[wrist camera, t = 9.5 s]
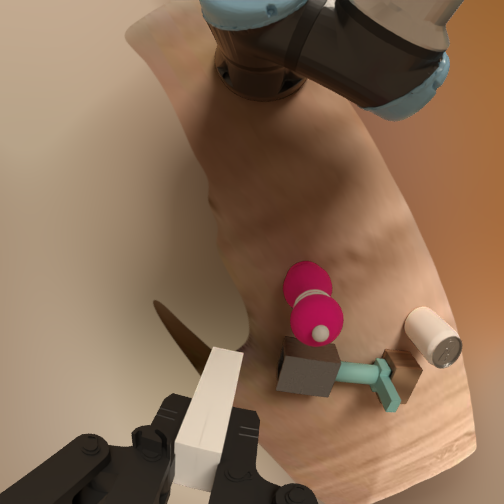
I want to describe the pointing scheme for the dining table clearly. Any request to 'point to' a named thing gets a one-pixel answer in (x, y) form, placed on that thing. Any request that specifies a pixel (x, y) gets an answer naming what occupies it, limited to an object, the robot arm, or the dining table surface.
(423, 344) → the can
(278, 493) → the robot arm
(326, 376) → the gray block
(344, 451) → the dining table surface
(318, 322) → the pepper mill
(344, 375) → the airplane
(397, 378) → the socket
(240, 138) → the dining table surface
